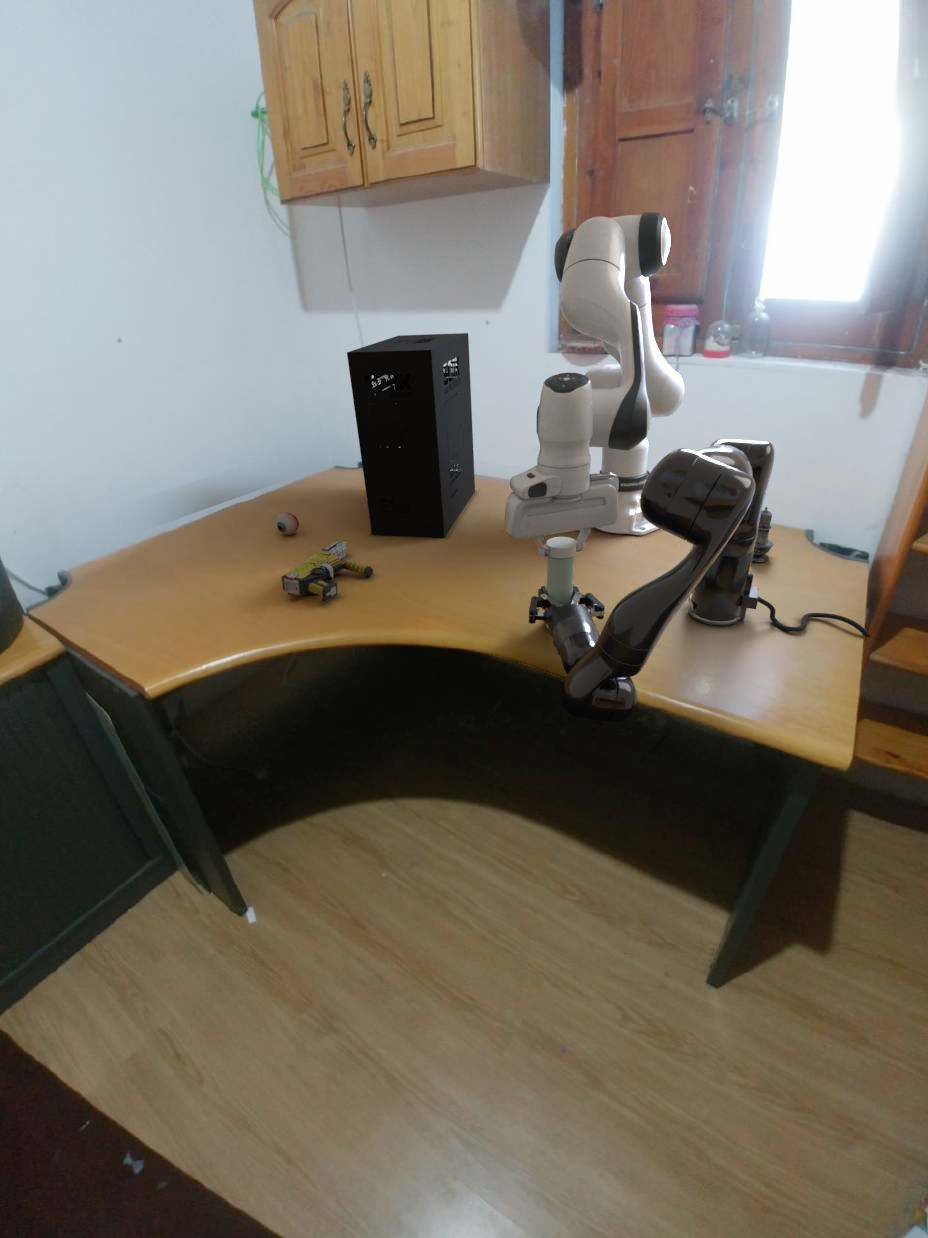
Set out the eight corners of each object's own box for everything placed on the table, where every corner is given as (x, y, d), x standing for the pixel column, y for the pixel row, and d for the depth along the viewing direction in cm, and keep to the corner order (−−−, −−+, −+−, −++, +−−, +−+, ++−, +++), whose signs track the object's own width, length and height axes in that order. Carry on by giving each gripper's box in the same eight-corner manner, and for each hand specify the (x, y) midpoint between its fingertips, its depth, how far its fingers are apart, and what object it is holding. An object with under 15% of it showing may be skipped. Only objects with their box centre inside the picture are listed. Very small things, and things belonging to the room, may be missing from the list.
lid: (563, 561, 105) (563, 550, 104) (540, 553, 109) (540, 542, 108) (582, 552, 108) (582, 541, 107) (559, 544, 112) (559, 534, 111)
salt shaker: (772, 562, 134) (784, 511, 128) (744, 561, 136) (754, 511, 130) (766, 552, 139) (777, 502, 133) (739, 551, 140) (749, 501, 134)
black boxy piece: (444, 537, 157) (431, 349, 135) (371, 534, 162) (346, 352, 139) (475, 491, 189) (468, 332, 166) (413, 489, 193) (398, 335, 171)
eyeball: (273, 537, 164) (268, 516, 161) (287, 528, 169) (282, 508, 166) (291, 539, 161) (286, 518, 158) (305, 530, 166) (301, 510, 163)
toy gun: (389, 548, 145) (334, 537, 149) (339, 588, 125) (277, 575, 129) (389, 566, 147) (335, 555, 151) (340, 608, 127) (279, 595, 131)
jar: (553, 633, 114) (556, 552, 105) (541, 622, 118) (542, 542, 109) (575, 628, 115) (580, 547, 107) (563, 616, 119) (566, 537, 111)
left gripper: (610, 465, 107) (605, 538, 113) (500, 480, 102) (502, 554, 109) (628, 475, 101) (621, 551, 108) (513, 491, 97) (513, 568, 104)
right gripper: (619, 613, 99) (595, 569, 114) (532, 619, 99) (519, 574, 113) (615, 651, 103) (592, 604, 117) (532, 657, 102) (519, 608, 117)
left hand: (560, 553), depth 109 cm, fingers closed on lid, 5 cm apart
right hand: (556, 589), depth 115 cm, fingers closed on jar, 5 cm apart
